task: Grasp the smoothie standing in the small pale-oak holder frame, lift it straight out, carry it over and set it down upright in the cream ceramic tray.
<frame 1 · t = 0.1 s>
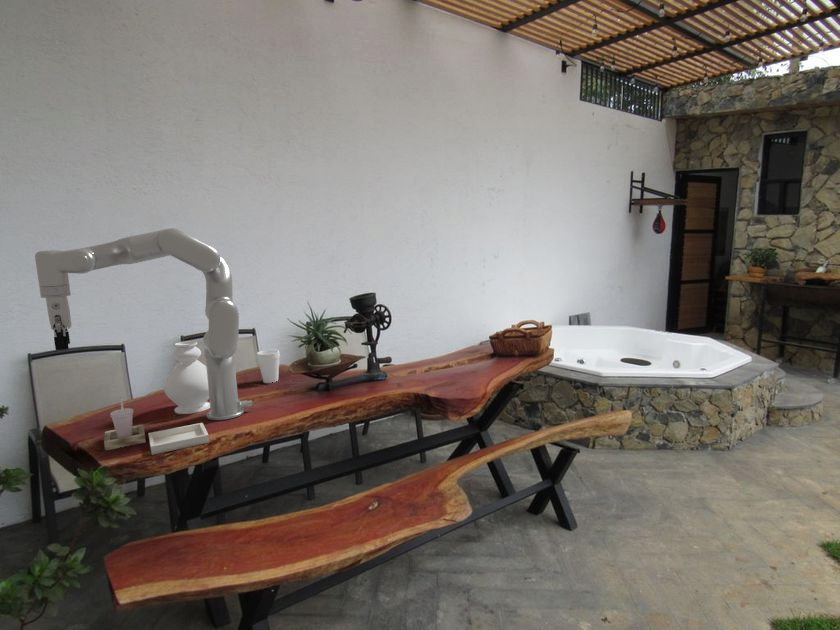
hand: (63, 347, 161), 31 cm above the table, fingers open, 9 cm apart
decorative vase: (193, 408, 196), on the table
holder: (125, 440, 166), on the table
foam cup: (270, 381, 230), on the table
tray: (178, 441, 164), on the table
smoothie: (125, 441, 166), resting in holder
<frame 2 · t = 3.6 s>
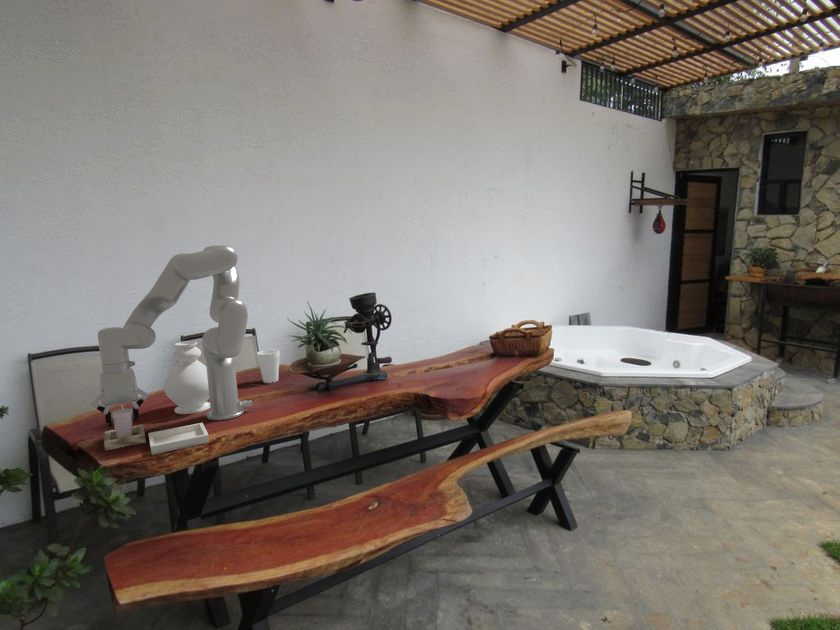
hand: (123, 422, 165), 6 cm above the table, fingers closed on smoothie, 6 cm apart
smoothie: (125, 441, 166), resting in holder, touching gripper
everything else where it was.
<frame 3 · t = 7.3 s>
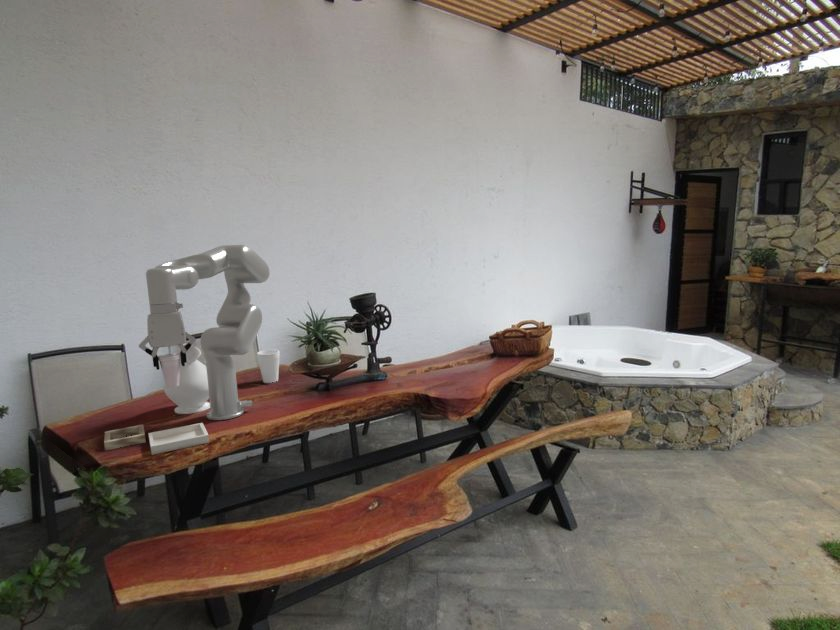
hand: (170, 366, 160), 24 cm above the table, fingers closed on smoothie, 6 cm apart
smoothie: (172, 386, 161), point 18 cm above the table, touching gripper
everything else where it was.
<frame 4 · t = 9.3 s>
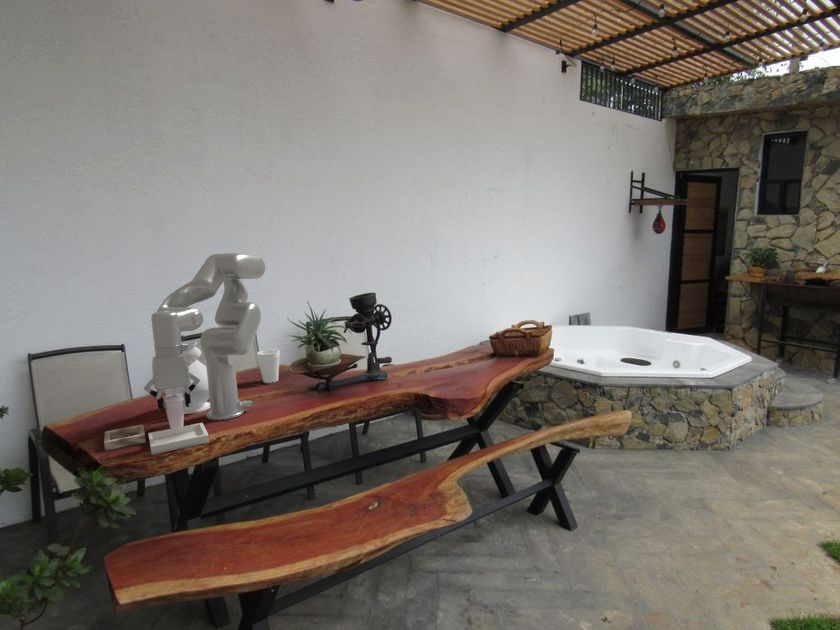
hand: (174, 407, 162), 11 cm above the table, fingers closed on smoothie, 6 cm apart
smoothie: (176, 427, 163), point 5 cm above the table, touching gripper
everything else where it was.
when the fingers open (8 cm above the table, at t = 11.0 s): smoothie drops 1 cm, resting on tray.
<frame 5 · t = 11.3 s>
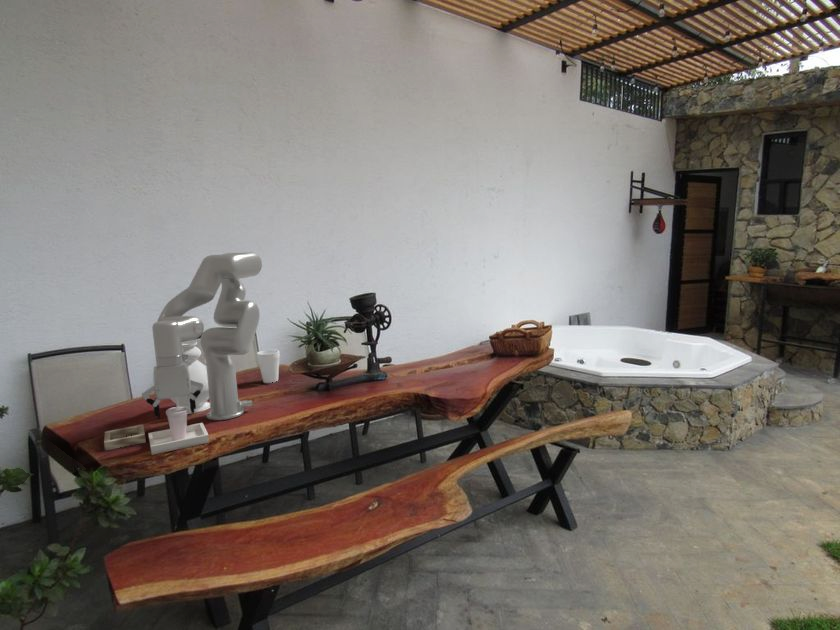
hand: (175, 414, 163), 9 cm above the table, fingers open, 9 cm apart
smoothie: (179, 439, 164), resting on tray
everything else where it was.
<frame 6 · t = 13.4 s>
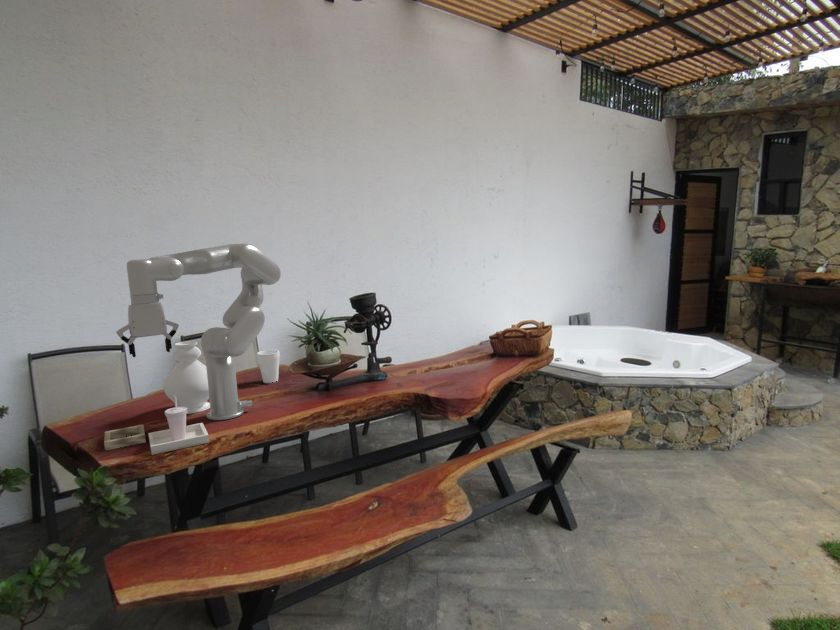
hand: (151, 353, 164), 27 cm above the table, fingers open, 9 cm apart
nothing on the table moved.
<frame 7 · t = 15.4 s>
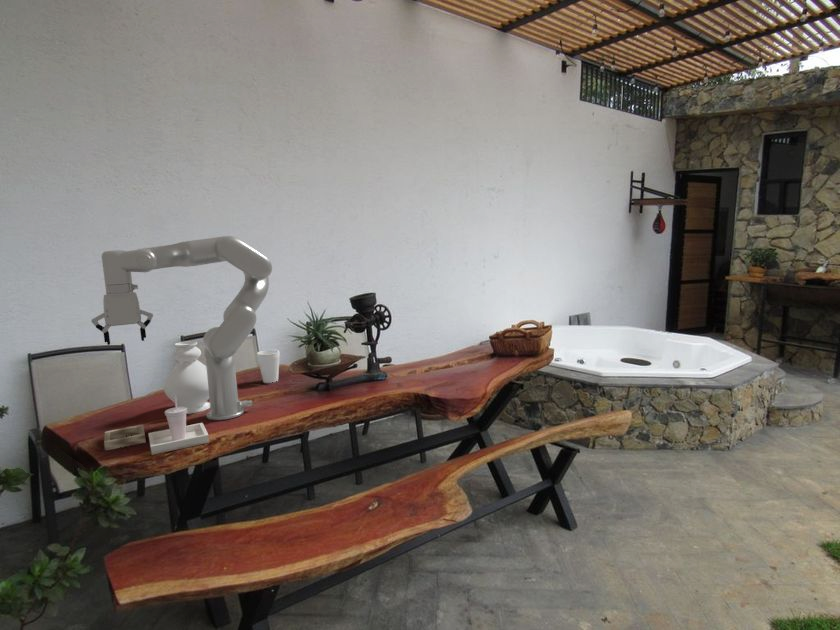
hand: (126, 342, 169), 30 cm above the table, fingers open, 9 cm apart
nothing on the table moved.
at the end: smoothie inside the target area on the tray (0.1 cm from its centre), point 0.4 cm above the tray's base; smoothie tilted 0°; the gripper is holding nothing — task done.
